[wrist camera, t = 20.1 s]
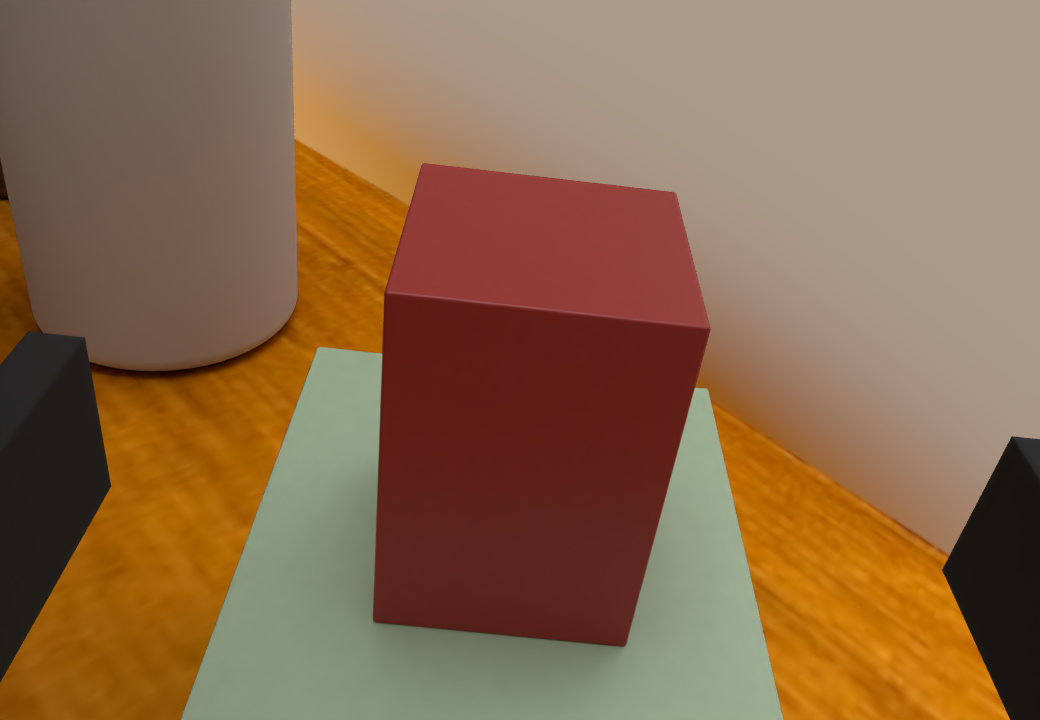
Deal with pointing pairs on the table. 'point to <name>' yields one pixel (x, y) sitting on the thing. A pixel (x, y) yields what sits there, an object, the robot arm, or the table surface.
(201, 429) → the table surface
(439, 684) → the shelf
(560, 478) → the red block
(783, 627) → the table surface
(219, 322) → the cylinder vase
